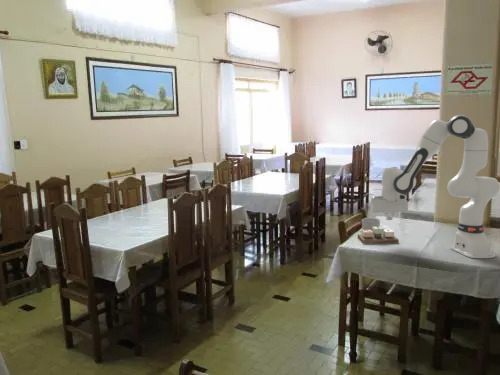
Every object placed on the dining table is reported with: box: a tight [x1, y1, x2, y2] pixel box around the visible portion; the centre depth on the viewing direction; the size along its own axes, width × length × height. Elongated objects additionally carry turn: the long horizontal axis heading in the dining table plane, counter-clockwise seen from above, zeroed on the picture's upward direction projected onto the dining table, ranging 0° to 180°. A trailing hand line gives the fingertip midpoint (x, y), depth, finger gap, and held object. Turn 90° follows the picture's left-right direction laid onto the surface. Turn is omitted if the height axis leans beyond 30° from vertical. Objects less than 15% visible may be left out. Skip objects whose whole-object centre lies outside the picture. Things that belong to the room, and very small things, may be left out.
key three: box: [361, 229, 374, 238], centre depth 252 cm, size 5×5×5 cm
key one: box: [383, 228, 395, 238], centre depth 252 cm, size 5×5×5 cm
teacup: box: [361, 217, 381, 231], centre depth 269 cm, size 14×11×8 cm
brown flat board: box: [357, 233, 400, 245], centre depth 252 cm, size 12×20×2 cm, turn 91°
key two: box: [372, 225, 385, 237], centre depth 252 cm, size 5×5×5 cm
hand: (389, 219), depth 249 cm, fingers closed
